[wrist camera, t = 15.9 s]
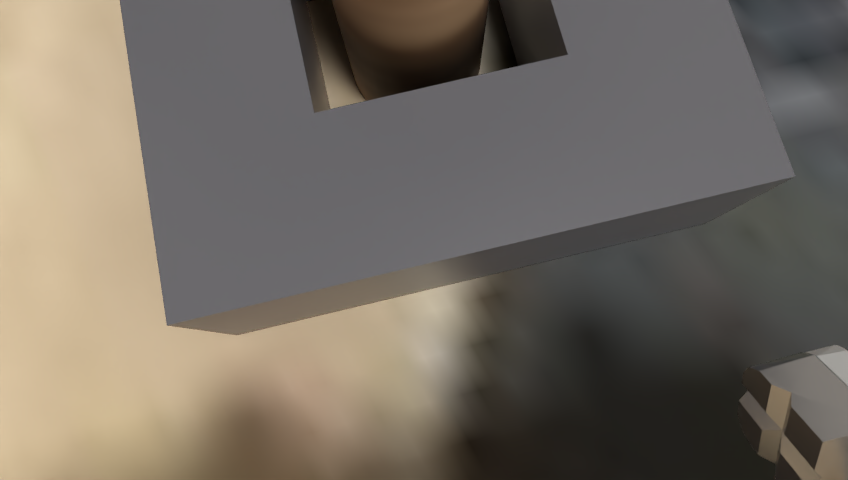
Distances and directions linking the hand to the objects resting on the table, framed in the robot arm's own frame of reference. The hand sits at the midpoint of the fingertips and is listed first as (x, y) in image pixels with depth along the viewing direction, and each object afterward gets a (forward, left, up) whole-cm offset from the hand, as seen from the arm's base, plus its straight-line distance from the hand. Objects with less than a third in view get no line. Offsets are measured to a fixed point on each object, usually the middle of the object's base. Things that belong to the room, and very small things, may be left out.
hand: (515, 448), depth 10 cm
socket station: (+5, -11, -6) cm, 14 cm away
